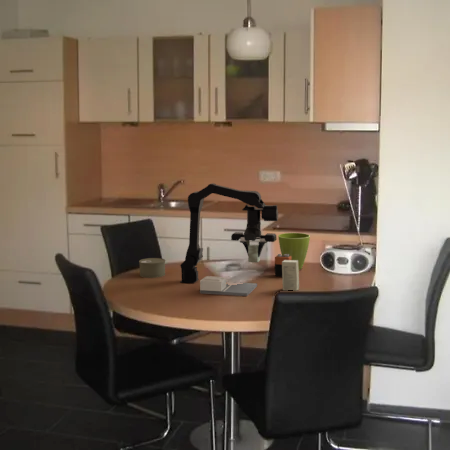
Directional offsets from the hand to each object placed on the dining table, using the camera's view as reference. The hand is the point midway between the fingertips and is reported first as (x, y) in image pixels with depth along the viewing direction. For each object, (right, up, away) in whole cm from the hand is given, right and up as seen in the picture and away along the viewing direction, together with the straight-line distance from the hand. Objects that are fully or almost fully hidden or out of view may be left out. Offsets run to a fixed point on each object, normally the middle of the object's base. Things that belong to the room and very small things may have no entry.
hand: (253, 256), depth 288 cm
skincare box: (+15, -13, -9) cm, 22 cm away
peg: (0, -2, 0) cm, 2 cm away
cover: (-17, -13, -12) cm, 25 cm away
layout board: (-11, -13, -8) cm, 19 cm away
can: (-46, -10, +22) cm, 52 cm away
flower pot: (+20, -7, +30) cm, 37 cm away
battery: (+14, -10, +16) cm, 23 cm away
